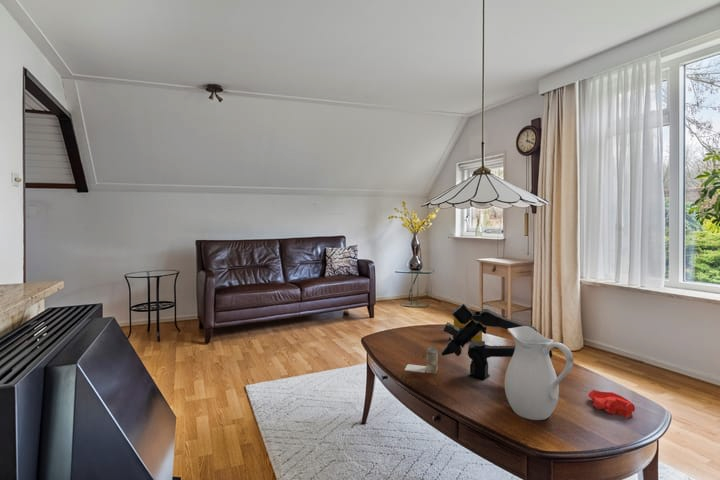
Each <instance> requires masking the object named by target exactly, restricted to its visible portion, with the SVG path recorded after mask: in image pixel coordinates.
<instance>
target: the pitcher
mask: <svg viewBox="0 0 720 480" xmlns="http://www.w3.org/2000/svg"><path fill="white" fill-rule="evenodd" d="M528 326H529V325H528ZM528 326H521V327H516V328H508V330H507V331H508V332H509V334H510V335H511V337H512V338H513V341H514V344H515V345H514V346H515V351H514V354H513V356H512V357H510V358H511V359H510V361H509V363H508V366H507V367H506V371H505V376H504V392H505V396H506V399H507V401H508V403H509V406H510V408H511V409H512V410H513V412H514V413H515V414H516V415H518V416H519V417H521V418H523V419H527V420H531V421H542V420H543V421H544V420H546V419H548V418H550V416H551V415H552V413H553V412H554V411H555V408H556V407H557V405H558V402H559V396H560V394H559V393H560V387H559V384H560V383H561V382H562V381H563V380H564V379H565V378H566V377H567V375H568V374H569V373H570V372H571V370H572V369H573V365H574V356H573V353H572V351H571V349H570V348H569V346H567V345H565V344H564V343H561V342H557V341H556V342H555V341H554V339H551V338H547V337H545V336H544V335H542V334H541V333H539V332H537V331H538V330H537V331H535V330H534V329H532V328H531V327H528ZM553 348H557V349H559V350H560V351H561V352H562V353H563V355H564V357H565V366H564V369H563V370H562V371H561V373H560V374H559V375H558V376H557V373H556V370H555V368H554V366H553V363H552V360H551V358H550V356H549V351H550V349H551V350H552V349H553Z"/></svg>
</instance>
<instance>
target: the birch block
mask: <svg viewBox="0 0 720 480" xmlns="http://www.w3.org/2000/svg"><path fill="white" fill-rule="evenodd" d="M438 350H439V349H438V348H433V347H431V348H430V347H428V348H427V350H426V352H425V353H426V356H425V357H426V362H425V363H426V365H425V366H426V372H425V373H427V374H433V375H435V374H437V370H438V364H439V363H438V354H439V353H438Z"/></svg>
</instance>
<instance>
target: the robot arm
mask: <svg viewBox="0 0 720 480" xmlns="http://www.w3.org/2000/svg"><path fill="white" fill-rule="evenodd" d="M451 315H452V316H453V318H454V317H455V318H456V319H457V320H458V321H459V322H460V323H461V324H462V323H463V324H466V323H468V322H469V321H470V320H471V321H470V322H469V323H468V324H466V325H465V326H464V327H461V328H457V327H456V326H454V324H452V323H451V322H446V324H445V326H444V327H443V329H442V330H443V332H444V333H447V334H449V335H450V336H452V337H450V336H449V337H448V340H447V344H446V346H445V348H444V349H443V350H442V352H441V356H447V355H451V354H454V355H456V356H457V357H459V356H460V355H461V354H462V352H463V348H464V347H465V346H466V345H467V344H468V343H469V342H471V343H469V344H468V345H467V356H468V358H469V359H470V364H469V373H470V374H469V375H468V376H469V377H471V378H474V379H477V380H481V381H485V380H486V379H487V378H489V377H490V376H491V374H489V362H488V359H489V358H512V356H513V354H514V351H515V345H488V344H486V341H485V340H482V341H480V342H479V341H471V340H472V338H473V337H474V336H476V335H477V334H478V333H479V332H480V331H482V334H484V335H486V334H487V327H491V328H496V327H497V328H502V329H505V330H507V331H508V328H516V327H521V326H528V327H531V328H532V329H534V330H535V331H537V332H538V330H537V328H536V327H535V326H531V325H527V324H524V323H522V322H519V321H515V320H513V319H509V318H506V317H503V316H501V315H500V314H497V313H496V312H495V311H492V310H490V309H488V308H483V309H481V310H479V311H478V310H477V311H471V310H470V309H469V308H468V307H467V305H466V304H465V303H463V304H461V305H459V306H458V307H456V308H455V309H454V310H453V311H452V313H451ZM538 333H539V332H538ZM549 356H550V359H551V358H552V357H553V351H552V348H551V349H550V351H549Z"/></svg>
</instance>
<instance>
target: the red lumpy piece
mask: <svg viewBox="0 0 720 480" xmlns="http://www.w3.org/2000/svg"><path fill="white" fill-rule="evenodd" d="M587 397H588V398H590V400H592V401H593V403H592V406H594V407H595V408H596V409H599V410H601V409H602V410H605V412H607V413H609V414H611V415H612V416H614V415H615V414H617V415H620V416H624V417H625V418H631V417H632V416H633V413H635V410H636V408H635V404H634V403H633V402H631V401H630V400H629V399H627V398H625V397H624V396H622V395H620V394H617V393H616V392H615V393H614V392H610V391H609V392H608V391H600V390H595V389H593V390H591V391H589V392H588V394H587Z"/></svg>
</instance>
